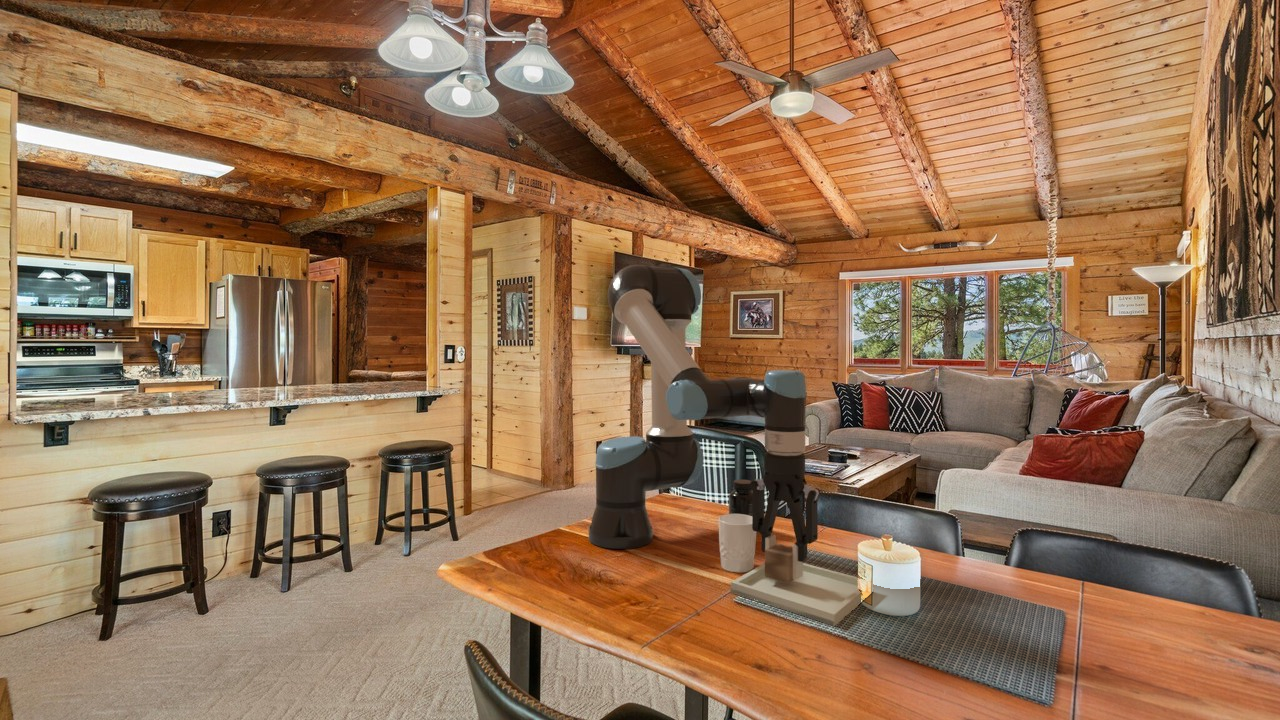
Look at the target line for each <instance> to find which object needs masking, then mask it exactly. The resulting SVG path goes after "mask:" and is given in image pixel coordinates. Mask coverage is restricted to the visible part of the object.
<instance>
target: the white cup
mask: <svg viewBox="0 0 1280 720" xmlns="http://www.w3.org/2000/svg"><path fill="white" fill-rule="evenodd" d="M717 522H718V543H719V544H718V545H719V554H720V566H721V568H722V569H723V570H725V571H727V572H731V573H748V572H750V571H752V570H753V569H755V567H754V566H755V555H756V545H757V544H756V543H757V531H753V529H752V516H749V515H744V514H729V513H728V514H727V513H726V514H722V515H720V516H719V517H718V521H717Z"/></svg>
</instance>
